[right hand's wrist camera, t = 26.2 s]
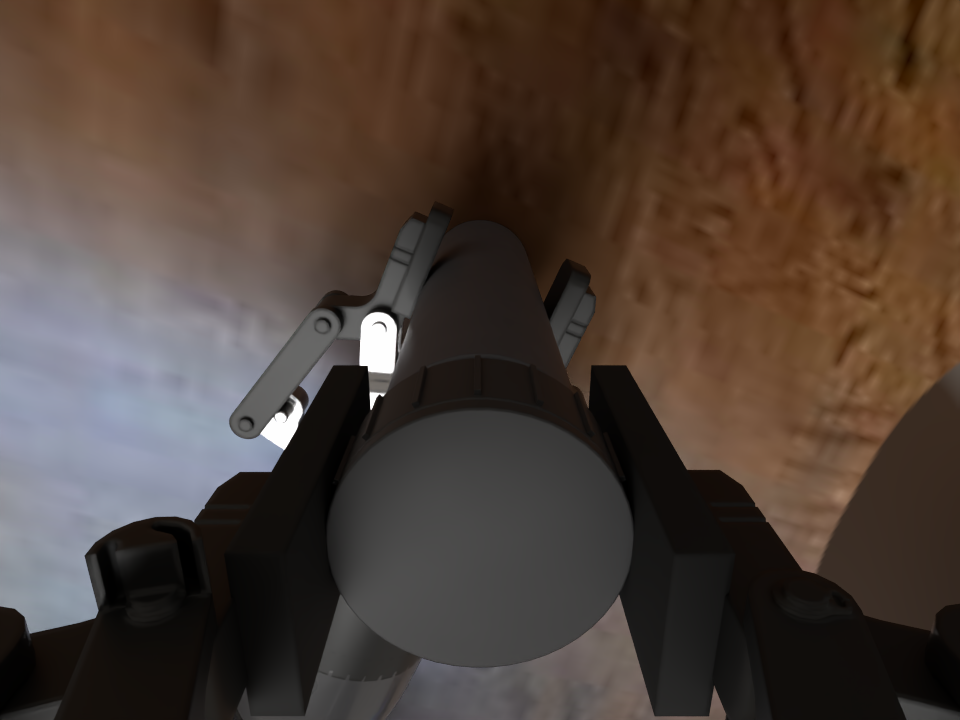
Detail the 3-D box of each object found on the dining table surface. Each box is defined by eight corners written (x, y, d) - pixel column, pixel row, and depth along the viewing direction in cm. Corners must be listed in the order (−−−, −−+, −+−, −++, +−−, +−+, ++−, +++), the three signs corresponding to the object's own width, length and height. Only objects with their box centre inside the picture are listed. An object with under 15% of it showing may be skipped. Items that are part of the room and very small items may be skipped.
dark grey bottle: (414, 245, 29) (308, 457, 11) (503, 202, 28) (544, 352, 10) (457, 331, 30) (425, 639, 12) (544, 291, 30) (641, 558, 12)
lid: (386, 604, 13) (369, 691, 11) (314, 384, 12) (280, 441, 10) (628, 562, 13) (655, 643, 11) (590, 328, 11) (614, 375, 9)
